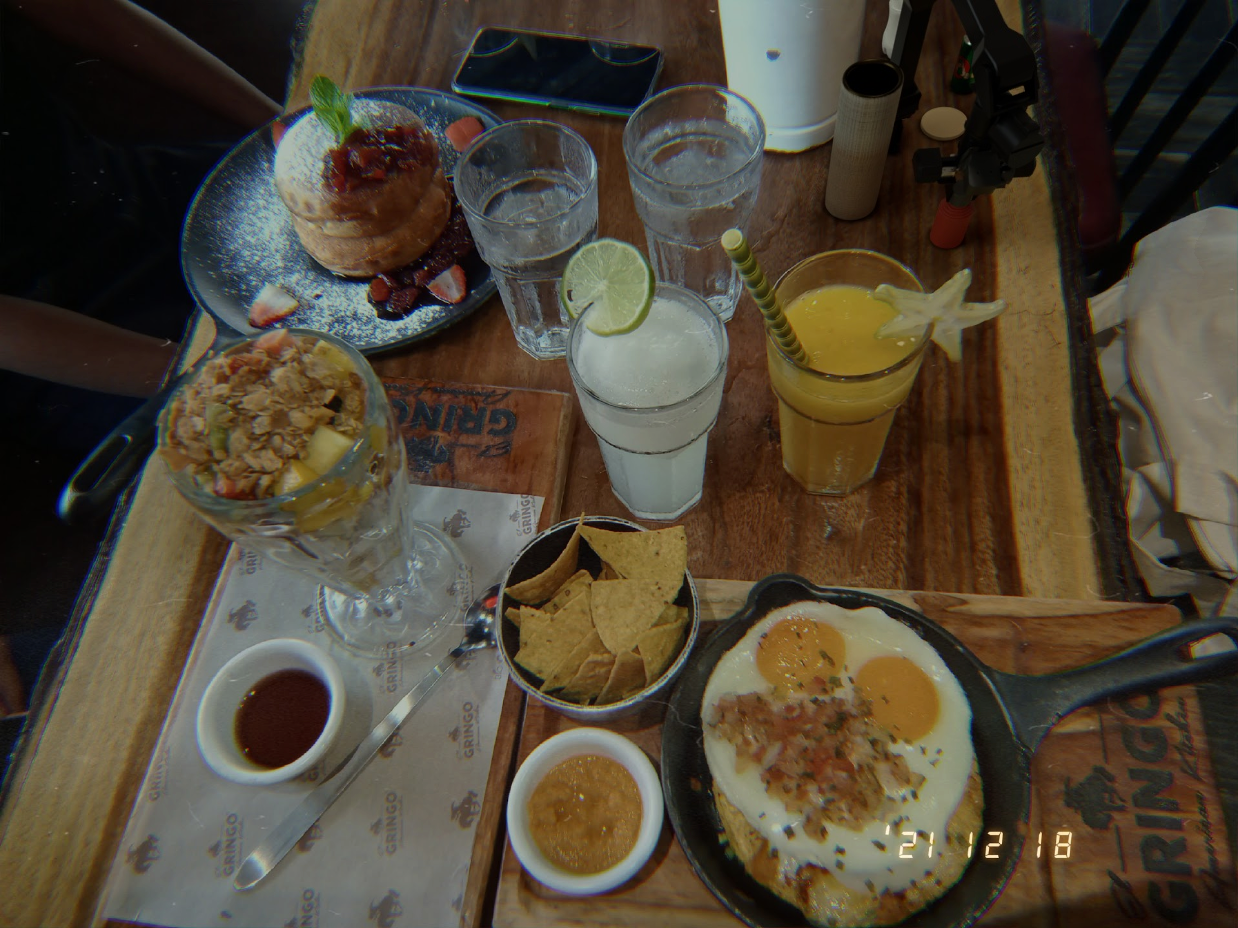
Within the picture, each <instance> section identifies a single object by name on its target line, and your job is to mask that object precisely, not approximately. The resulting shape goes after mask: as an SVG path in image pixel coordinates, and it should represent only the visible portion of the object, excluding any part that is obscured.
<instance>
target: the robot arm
mask: <svg viewBox="0 0 1238 928" xmlns="http://www.w3.org/2000/svg"><path fill="white" fill-rule="evenodd" d="M937 1H938V0H903V4H902V9H901V13H900V18H899V22H898V27H897V31H896V36H895V41H894V45H893V50H892V54H891V59H890V58H889V59H890V60H889V61H891V62H893V63H895V64H896V65H898V66H899V67H900V68H901V70H902V72H903V74H904V81H903V86H902V91H901V95H900V99H899V104H898V108H897V113H896V117H895V122H894V126H893V131H892V135H891V140H890V144H889V148H888V153H887V154H897V153H898V152H899V147H898V145H899V144H900V143H901V140H902V136H903V131H904V120H906V119H907V120H908V119H911V118H912V115H914V114H916V112H917V111H919V109H920V107H919V106H920V101H921V98H922V95H923V94H922V92H921V91H920V89H919V86H918V85H917V83H916V81H915V78H916V73H917V69H918V65H919V61H920V57H921V54H922V50H923V46H924V44H925V43H924V42H925V38H926V35H927V32H928V31H927V30H928V28H929V27H928V26H929V23H930V19H931V15H932V11H933V7H934V4H935V3H936V2H937ZM950 2H951V3H952V5H953V8H954V11H955V12H956V14H957V17H958V19H959V21H960V24H961V25H962V28H963V30H964V33H965V34H967V37H968V39H969V41H970V43H971V45H972V49H973V52H974V55H973V60H972V65H971V70H972V73H973V76H974V80H975V82H972V83H970V88H971V89H972V92H973V93H974V94H975V97H974V100H973V104H972V106H971V110H970V113H969V116H968V118H967V120H965V123H964V129H965V131H964V133H963V134H962V137H961V139H960V140H958V142H957V145H956V148H957V152H956V153H951V154H950V155H949V156H942V153H941V148H940V147H939V146H936V147H921V148H917V149H916V150H915V151H913V155H912V157H911V165H912V171H913V177H914V182H915V183H917V184H918V185H920V184H921V185H922V184H935V183H937V184H938V185H944V186H943V187H944V195H945V197H946V202H949V200H950V198H951V195H952V191H953V186H954V184H956V181H957V178H956V173H957V171H958V172H960V173H961V172H962V177H963V178H962V179H963V183H964V187H963V191H964V194H965V195H967V196H973V195H974V196H973V198H972V202H973V201H975V200H976V199H977V198H978V197H979V196H981V195H983V196H991V195H992V194H993V193H994V192H995V191H996V190H999V189H1000V190H1001V189H1006V186H1007V185H1010V184H1011V182H1012V181H1013V179H1015V178H1016V179H1018V178H1030V177H1032V176H1033V174H1034V173H1035V170H1036V168H1037V163H1038V161H1037V157H1038V156H1039V154H1041V152H1042V151H1043V149H1044V148H1045V146H1046V137H1045V135H1044V134H1043V133H1042V132H1041V129H1042V128H1041V125H1040V124H1039V123H1038V122H1037V121H1036V120H1034V119H1033V117H1031V116H1030V115H1029V113H1027V111H1028V108H1029V107H1030V106H1033V105H1037V104H1038V103H1039V90H1041V86H1040V80H1039V79H1040V78H1039V73H1038V60H1037V59H1038V58H1037V55H1036V53H1035V51H1034V49H1033V48H1032V46H1031V45H1030V43H1029V42H1028V40H1027V38H1026V37H1025V36H1024V35H1023V34H1022V33H1020V32H1018V31H1016V30H1014V29H1013V28H1011V27H1010V26H1008V24H1007V22H1006V20H1005V19H1004V16H1003V14H1002V12H1001V10H1000V8H999V5H998V4H997V3H998V2H997V1H996V0H950ZM1022 87H1023V91H1021V92H1019V93H1018V92H1017V93H1015V94H1012V93H1011V92H1010V91H1013V90H1016V89H1018V88H1022Z"/></svg>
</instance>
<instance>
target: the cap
mask: <svg viewBox="0 0 1238 928" xmlns="http://www.w3.org/2000/svg"><path fill="white" fill-rule="evenodd" d="M963 187H964V183H963V178H962V179H958V180H957V179H956V184H954V186H953V191H952V195H951V198H950V200H949V203H950V204H951V205H953V206H956V207H965V206H967V205H969V204H970V203H971V201H972V198H973V196H974V195H973V196H967V195H965V194H964V191H963ZM972 202H973V201H972Z"/></svg>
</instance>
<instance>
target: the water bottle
mask: <svg viewBox="0 0 1238 928" xmlns="http://www.w3.org/2000/svg"><path fill="white" fill-rule="evenodd" d="M902 4H903V0H889V2H888V6H889V7H888V8H889V13H888V19H887V23H886V28H885V29H884V32H883V34H882V41H881V48H882V52H883V54H884V55H886V56H887V57H888V59H891V54H892V50H893V45H894V41H895V36H896V31H897V27H898V22H899V18H900V13H901V9H902Z"/></svg>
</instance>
